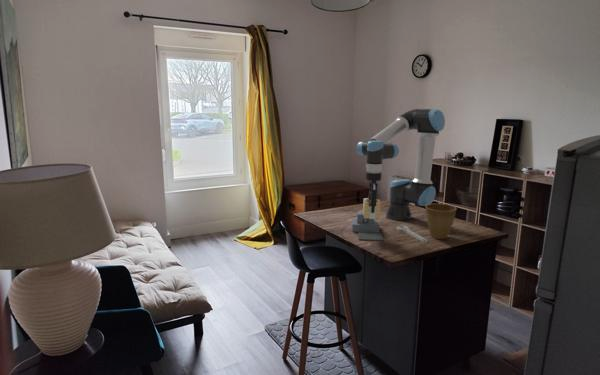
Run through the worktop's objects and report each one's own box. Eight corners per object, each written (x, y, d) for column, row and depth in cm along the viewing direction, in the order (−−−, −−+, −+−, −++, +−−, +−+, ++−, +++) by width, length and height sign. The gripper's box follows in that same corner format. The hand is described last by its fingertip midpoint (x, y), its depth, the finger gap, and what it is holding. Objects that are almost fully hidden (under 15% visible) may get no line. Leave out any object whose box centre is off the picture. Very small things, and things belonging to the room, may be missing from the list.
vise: (376, 226, 216) (378, 197, 212) (378, 232, 205) (380, 201, 202) (351, 225, 217) (352, 196, 214) (352, 231, 206) (353, 200, 203)
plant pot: (437, 230, 210) (440, 202, 206) (460, 239, 197) (463, 208, 193) (417, 234, 203) (419, 205, 200) (438, 243, 190) (441, 212, 187)
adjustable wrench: (428, 243, 191) (429, 240, 191) (417, 244, 190) (417, 241, 190) (404, 227, 215) (405, 224, 215) (394, 228, 214) (394, 225, 214)
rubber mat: (381, 234, 203) (381, 233, 203) (383, 241, 192) (383, 240, 192) (358, 233, 204) (358, 232, 204) (359, 240, 193) (359, 239, 193)
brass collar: (378, 214, 199) (379, 199, 198) (380, 218, 192) (381, 203, 190) (362, 213, 200) (363, 198, 199) (363, 218, 192) (364, 202, 191)
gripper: (364, 168, 202) (362, 210, 206) (367, 175, 182) (365, 221, 186) (379, 169, 201) (376, 211, 206) (383, 175, 181) (381, 222, 185)
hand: (371, 216), depth 196 cm, fingers closed on brass collar, 8 cm apart
